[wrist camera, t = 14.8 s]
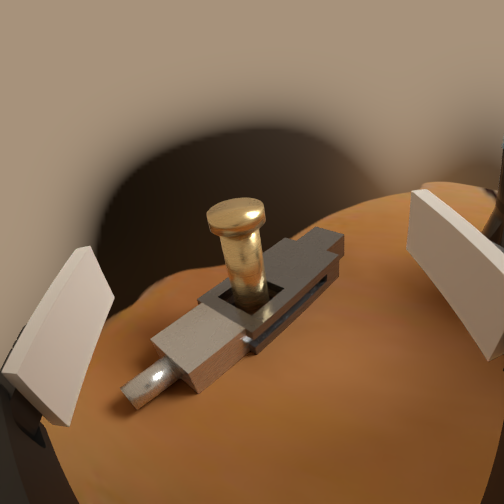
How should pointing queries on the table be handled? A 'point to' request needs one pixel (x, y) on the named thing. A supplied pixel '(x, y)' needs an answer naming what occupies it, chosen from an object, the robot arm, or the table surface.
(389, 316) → the table surface
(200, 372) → the clevis
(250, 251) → the clevis pin
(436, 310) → the table surface
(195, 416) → the table surface
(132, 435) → the table surface
